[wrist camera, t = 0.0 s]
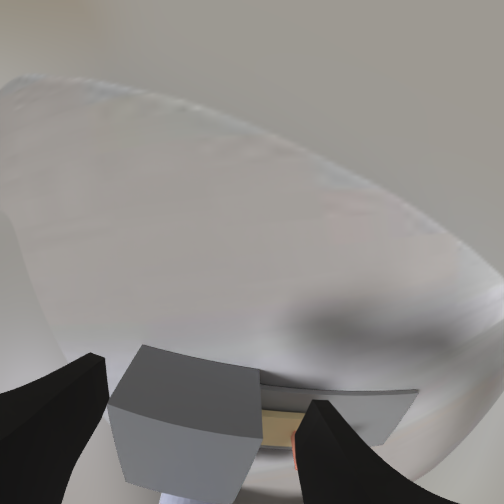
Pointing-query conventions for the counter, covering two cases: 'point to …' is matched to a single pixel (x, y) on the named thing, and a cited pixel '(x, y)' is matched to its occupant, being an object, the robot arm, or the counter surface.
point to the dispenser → (217, 421)
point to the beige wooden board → (280, 428)
